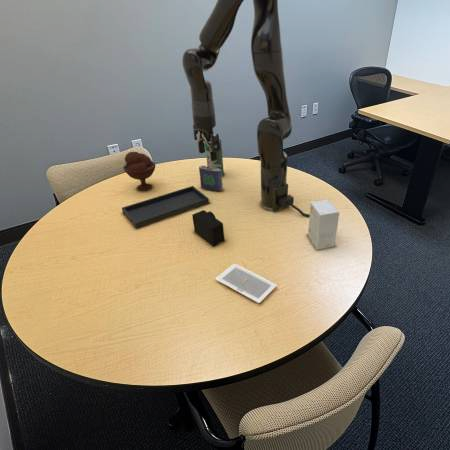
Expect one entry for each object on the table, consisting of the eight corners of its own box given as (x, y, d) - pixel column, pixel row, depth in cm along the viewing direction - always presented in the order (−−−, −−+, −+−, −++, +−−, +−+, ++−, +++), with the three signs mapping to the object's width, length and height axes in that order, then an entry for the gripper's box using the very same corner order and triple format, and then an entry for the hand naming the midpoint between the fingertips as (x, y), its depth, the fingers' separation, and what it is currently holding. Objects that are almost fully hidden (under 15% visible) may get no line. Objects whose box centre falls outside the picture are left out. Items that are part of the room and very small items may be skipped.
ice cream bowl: (150, 196, 125) (141, 159, 117) (123, 192, 127) (112, 155, 118) (165, 183, 134) (158, 148, 125) (139, 179, 135) (131, 144, 127)
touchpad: (234, 266, 96) (234, 260, 95) (277, 287, 90) (277, 282, 89) (215, 281, 91) (214, 275, 90) (259, 306, 85) (259, 300, 83)
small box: (335, 246, 106) (340, 212, 99) (316, 250, 104) (320, 215, 97) (324, 232, 113) (328, 198, 105) (307, 235, 111) (310, 201, 103)
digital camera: (228, 239, 106) (226, 221, 102) (213, 247, 103) (211, 228, 99) (209, 225, 112) (206, 208, 108) (194, 232, 109) (192, 214, 105)
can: (205, 175, 141) (202, 141, 133) (214, 170, 146) (210, 136, 138) (218, 178, 140) (215, 144, 131) (226, 173, 144) (223, 139, 136)
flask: (224, 189, 133) (221, 164, 127) (220, 192, 130) (218, 167, 124) (203, 185, 135) (199, 160, 128) (199, 188, 132) (195, 163, 126)
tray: (209, 203, 124) (208, 198, 122) (136, 229, 108) (135, 223, 107) (193, 190, 131) (192, 185, 129) (123, 213, 115) (121, 207, 114)
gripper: (224, 116, 113) (227, 160, 123) (203, 105, 122) (207, 148, 131) (204, 120, 109) (208, 165, 118) (183, 108, 117) (189, 152, 127)
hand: (208, 156), depth 125 cm, fingers open, 8 cm apart
